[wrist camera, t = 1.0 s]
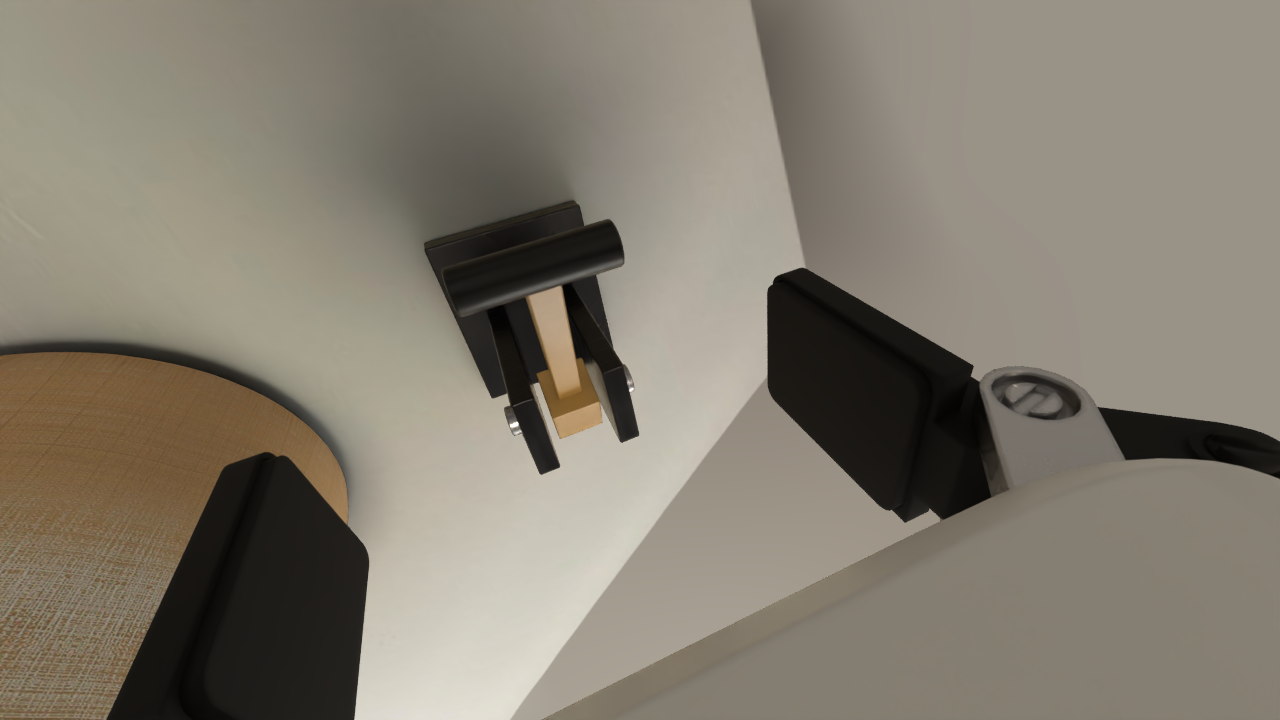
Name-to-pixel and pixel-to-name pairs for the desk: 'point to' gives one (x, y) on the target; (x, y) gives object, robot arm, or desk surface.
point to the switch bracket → (512, 341)
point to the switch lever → (545, 306)
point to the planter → (112, 509)
